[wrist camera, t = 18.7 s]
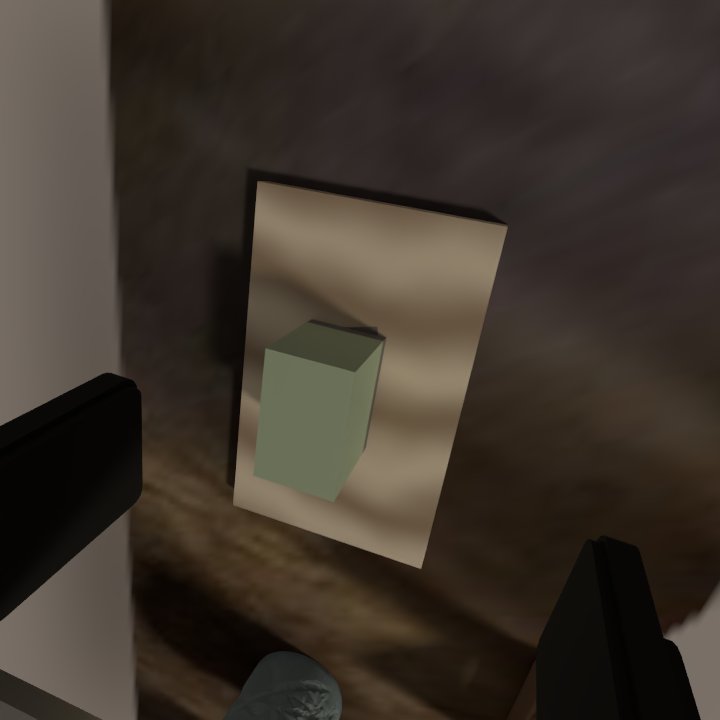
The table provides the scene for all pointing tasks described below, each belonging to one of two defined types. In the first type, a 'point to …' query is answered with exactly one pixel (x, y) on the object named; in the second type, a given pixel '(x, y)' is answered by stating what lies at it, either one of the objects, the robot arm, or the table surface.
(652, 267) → the table surface
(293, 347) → the block
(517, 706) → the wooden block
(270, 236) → the birch board
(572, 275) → the table surface
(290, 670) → the blue cup
